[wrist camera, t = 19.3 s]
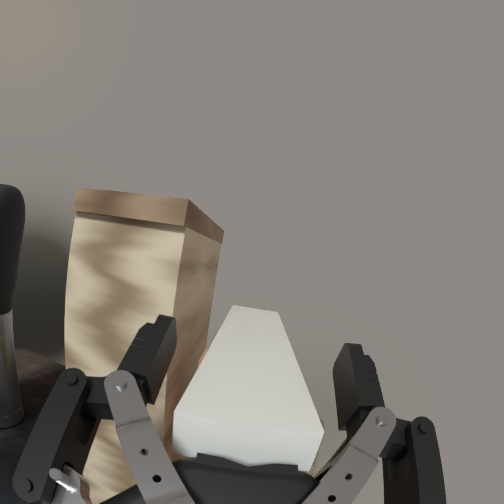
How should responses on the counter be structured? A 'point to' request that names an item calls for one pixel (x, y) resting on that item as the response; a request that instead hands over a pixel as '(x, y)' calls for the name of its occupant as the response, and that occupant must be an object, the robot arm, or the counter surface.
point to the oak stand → (136, 304)
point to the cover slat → (249, 398)
